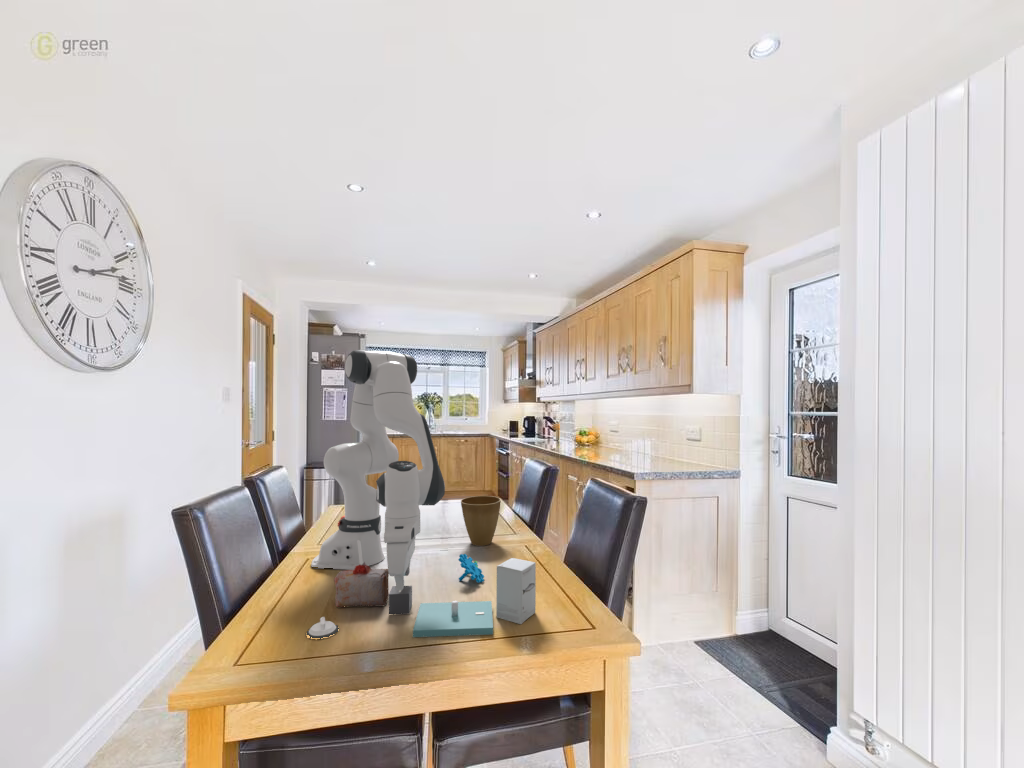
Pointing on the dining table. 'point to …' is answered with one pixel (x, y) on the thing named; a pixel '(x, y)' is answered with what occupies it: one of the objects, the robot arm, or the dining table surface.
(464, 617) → the control panel
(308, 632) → the stove knob
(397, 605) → the grey marked cube
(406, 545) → the robot arm
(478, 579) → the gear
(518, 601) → the supplement box
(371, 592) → the food item
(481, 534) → the plant pot
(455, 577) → the dining table surface
